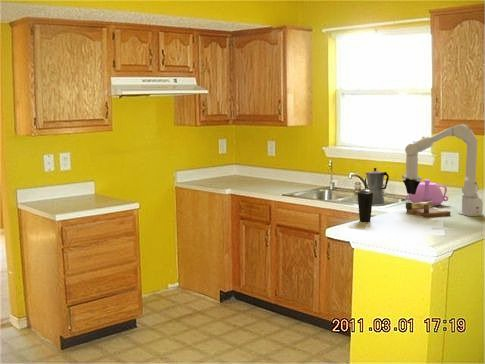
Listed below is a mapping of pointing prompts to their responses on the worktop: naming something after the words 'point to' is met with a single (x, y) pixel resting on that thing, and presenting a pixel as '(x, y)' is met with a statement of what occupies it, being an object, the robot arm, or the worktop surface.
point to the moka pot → (377, 185)
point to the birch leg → (418, 205)
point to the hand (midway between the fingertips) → (411, 194)
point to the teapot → (428, 193)
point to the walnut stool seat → (429, 211)
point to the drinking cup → (365, 204)
